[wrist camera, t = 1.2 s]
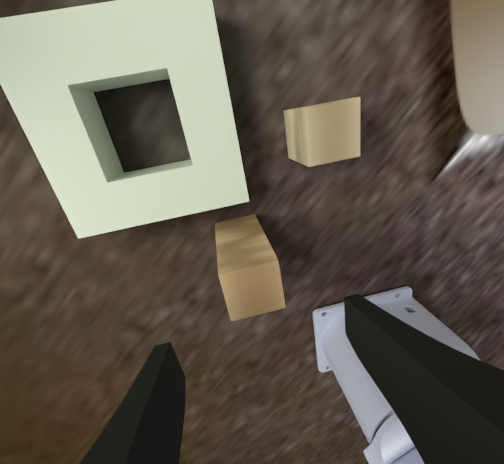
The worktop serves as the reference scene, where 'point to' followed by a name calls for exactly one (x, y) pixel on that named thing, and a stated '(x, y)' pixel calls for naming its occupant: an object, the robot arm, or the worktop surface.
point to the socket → (115, 76)
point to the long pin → (247, 268)
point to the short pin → (323, 132)
